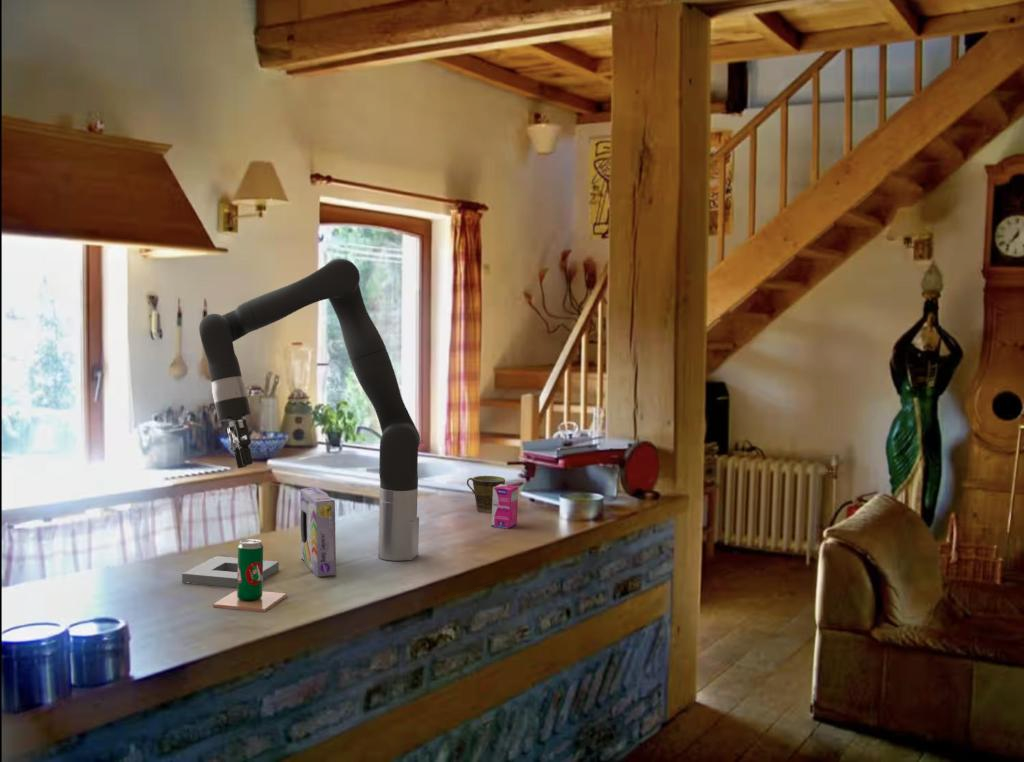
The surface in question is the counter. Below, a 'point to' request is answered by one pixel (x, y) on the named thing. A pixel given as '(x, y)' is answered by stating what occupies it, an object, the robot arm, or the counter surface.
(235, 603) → the terracotta tile
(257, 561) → the soda can
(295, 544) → the counter surface
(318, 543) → the cake pan box
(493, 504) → the supplement box
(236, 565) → the frame
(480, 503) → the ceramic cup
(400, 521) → the robot arm
